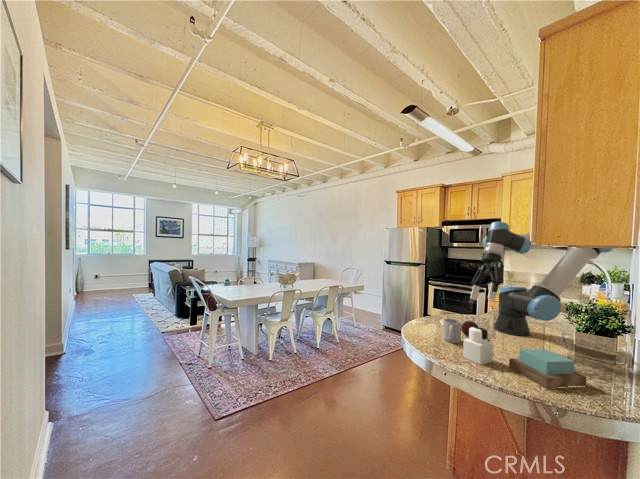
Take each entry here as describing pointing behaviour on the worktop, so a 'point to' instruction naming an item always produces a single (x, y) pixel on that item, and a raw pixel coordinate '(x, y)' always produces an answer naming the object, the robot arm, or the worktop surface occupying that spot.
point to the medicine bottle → (478, 346)
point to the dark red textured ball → (467, 327)
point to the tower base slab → (547, 376)
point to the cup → (452, 330)
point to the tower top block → (547, 361)
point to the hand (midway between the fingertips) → (481, 299)
